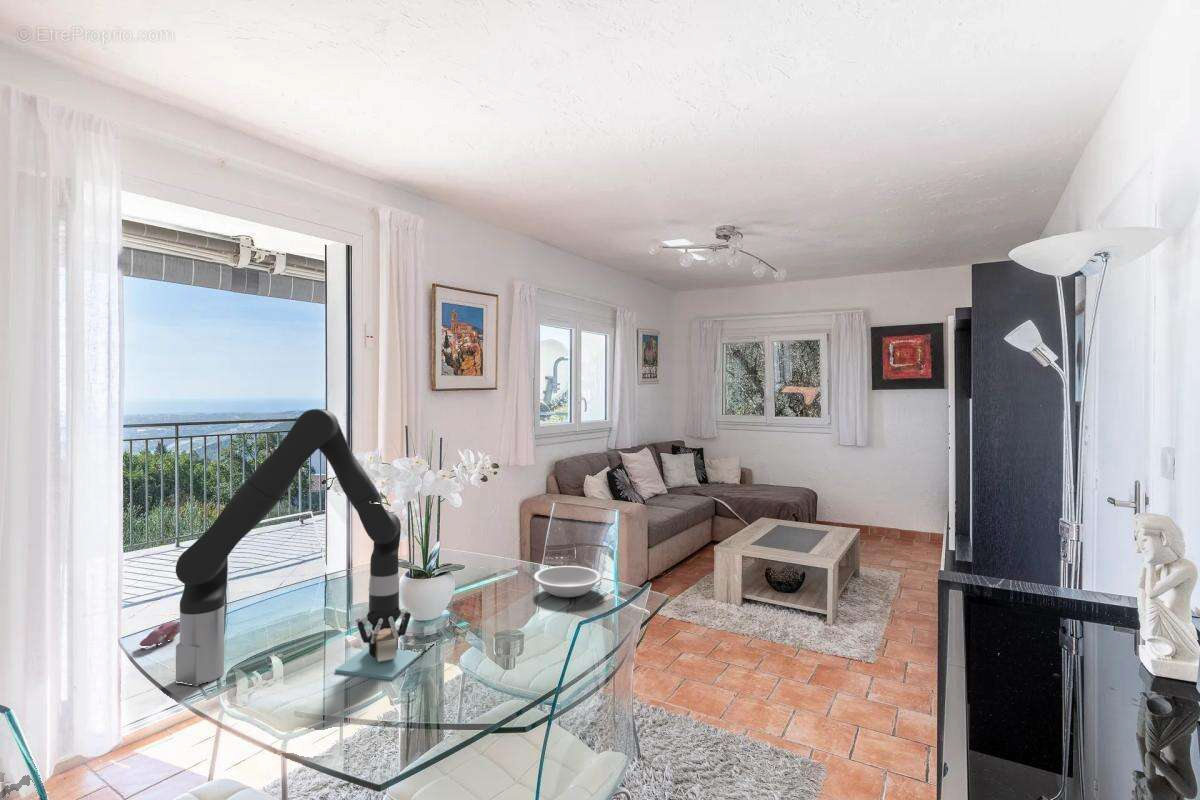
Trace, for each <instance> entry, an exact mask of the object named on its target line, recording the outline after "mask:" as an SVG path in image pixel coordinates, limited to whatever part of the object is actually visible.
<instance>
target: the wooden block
mask: <svg viewBox="0 0 1200 800" xmlns="http://www.w3.org/2000/svg"><path fill="white" fill-rule="evenodd" d="M370 633H371V628H370V629H369V635H368V636H370ZM375 643H376V654H375V657H376V658H377V660H378V662H380V661H385V660H389V659H394V658H397V640H396V639H395V637H394V636H393V635H392V633H391V631H390V628H388V629H387V628H384V629H382V630H380V631H379V634H378V635H377V638H376V641H375Z"/></svg>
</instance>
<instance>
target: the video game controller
mask: <svg viewBox="0 0 1200 800" xmlns="http://www.w3.org/2000/svg"><path fill="white" fill-rule="evenodd" d="M178 634H180V621H178V620H176V619H175V620H174V621H168V622H164V623H163V624H161V625H160V626H159V627H157V628H155V629H154V630H152V631H151V632H150V633H149V634H148V635H147V636H146V637H145V638H143V639H142V640H141V641H140V643H139V645H141V646H150V647H152V646H153V645H155V644H156V645H158V644H160V643H163V642H164V643H165V641H166V642H167V641H168V640H171V641H173V640H174V638H175V637H176V636H177V635H178ZM164 643H163V644H164ZM156 645H155V646H156Z"/></svg>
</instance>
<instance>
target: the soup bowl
mask: <svg viewBox="0 0 1200 800" xmlns="http://www.w3.org/2000/svg"><path fill="white" fill-rule="evenodd" d="M533 579H534V581H535V582H537V583H538V584H539V585H540V587H541V588H542V589H543V591H545V592H547V594H549V595H553V596H555V597H558V598H574V597H575V598H576V597H580V596H583V595H585V594H587V593H589V592H591V590H592V589H593V588H594V587H595V586H596V584H597V583H599V582H600V581H601V580H602V574H601V572H599V571H598V570H595V569H593V568H589V567H585V566H581V565H557V566H550V567H546V568H545V567H544V568H542V569H540V570H538V571H536V572H535V573H534V575H533Z"/></svg>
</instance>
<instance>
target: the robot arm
mask: <svg viewBox="0 0 1200 800" xmlns="http://www.w3.org/2000/svg"><path fill="white" fill-rule="evenodd" d="M292 425H293V426H292V427H291V428H290V430H289V431H288V433H287V434H286V435H285V437H284V438H283V439H282V441H281V442H280V444H279V445H278V446H277V447H276V449H275V450H274V451H273V452H271V454H270V455H269V456H268V457H267V458H266V459H265V460H264V461H262V463H261V464H259V466H258V467H257V468H256V469H255V470H254V471H253V472H252V473H251V474H250V475H249V476H248V477H247V479H246V480H245V481H244V482H243V483H242V484H241V486H240V487H239V488H238V489H237V491H236V492H235V493H234V495H233V496H232V497H231V498H230V499H229V501H228V502H227V504H226V505H225V506H224V507H223V509H222V510H221V512H220V513H219V515H218V516H217V517H216V519H215V520H214V521H213V523H212V524H211V525H210V527H209V528H207V530H206V531H205V532H203V534H202V535H201V536H200V537H198V539H197V540H196V541H195V542H194V543H193V544H192V545H190V546H189V547H188V548H187V549H186V550H185V551H183V552H182V553H181V554H180V556H179V557H178V559H177V561H176V565H175V575H176V578H178V580H179V582H181V584H184V588H183V592H182V595H181V597H180V601H179V622H180V632H179V643H177V644H176V645H175V682H176V681H177V682H183V683H187V684H192V685H198V684H200V683H204V684H206V682H208V683H210V682H213V681H215V680H217V679H219V678H221V677H222V676H223V675H224V673H225V598H226V593H227V590H228V570H229V568H228V566H229V563H228V562H229V561H228V559H229V558H228V557H229V555H230V554H231V553H232V551H233V550H234V548H235V547H236V546H237V544H238V543H240V541H241V540H242V539H244V537H245V536H247V534H249V533H250V532H251V531H252V530H253V529H254V528H256V527H257V526H258V524H260V523H261V522H262V521H263V520H264V519H265V518H266V517H267V516H268V514H270V513H271V512H272V511H273V509H274V508H275V507H276V505H277V504H279V502H280V501H281V499H282V498H283V497H284V496H285V494H286V493H287V492H288V490H289V489H290V487H291V485H292V483H293V482H294V480H295V478H296V477H297V474H298V472H299V471H300V469H301V467H303V465H304V464H305V463H306V461H308V460H309V458H310V457H311V456H312V455H313V454H314V453H315V452H316V451H317V450H319V451H320V452H321V453H322V454H323V456H324V457H325V459H326V460H327V462H328V463H329V464H330V466H331V469H332V470H333V472H334V474H335V477H336V480H337V482H338V484H339V485H340V488H341V489H342V492H343V493H344V494H345V496H346V498H347V499H348V501H349V502H350V504H351V505H352V507H353V508H354V510H356V512H357V514H358V517H359V520H360V521H361V523H362V524H361V525H362V526H363V529H364V530H365V532H366V534H367V536H368V537H369V538H370V539H371V540H372V542H373V550H372V553H371V556H370V564H369V565H370V567H369V571H370V572H369V574H370V575H369V582H368V612H367V615H366V617H363V618H357V619H356V620H355V621H356V622H355V623H356V626H357V628H358V629H357V630H358V633H359V635H360V638H361V640H362V642H363V643H364V644H366V643H367V644H368V646H369V653H370V655H371V656H372V657H375V654H376V643H375V641H376V638H377V635H378V634H379V631H380V630H382V629H384V628H387V629H389V630H390V632H391V633H392V635H393V636H394V637H395V639H396V640H397V649H398V638H399V637H402V636H405V635H406V634H407V633H406V632H407V629H408V625H409V623H410V619H411V616H412V614H411V613H410V611H408V610H401V609H400V576H399V575H400V574H399V563H400V562H399V561H400V560H399V548H400V541H401V532H402V528H401V527H402V525H401V521H400V518H399V517H398V515H396V514H395V513H394V512H387V510H386V509H385V507H384V505H383V503H382V501H383V500H382V495H381V494H380V492H379V491H378V489H377V487H376V486H375V485H374V483H373V481H372V480H371V478H370V477H369V476H368V474H367V472H366V471H365V470H364V467H362V465H361V463H359V461H358V459H357V458H356V456H355V455H354V453H353V451H352V449H351V447H350V446H349V443H348V442H347V440H346V437H345V435H344V432H343V430H342V428H341V425H340V423H339V421H338V418H337V416H336V415H335V414H334V413H332V411H329V410H327V409H322V408H312V409H309V410H306V411H305V412H303V413H302V414H300V415H299V417H297V420H295V422H294V424H292ZM369 501H371V503H374V502H378V503H380V504H370V503H369ZM399 618H400V619H401V621H400V624H399V628H398V629H397V626H396V622H397V620H398V619H399ZM368 622H369V623H370V624H371V627H370V629H371V633H370V636H369V635H367V632H366V629H365V628H366V627H367V623H368Z"/></svg>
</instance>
